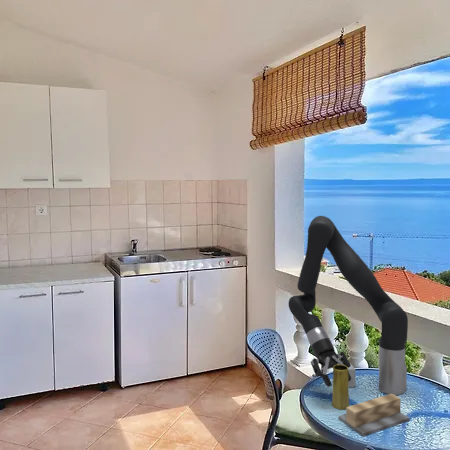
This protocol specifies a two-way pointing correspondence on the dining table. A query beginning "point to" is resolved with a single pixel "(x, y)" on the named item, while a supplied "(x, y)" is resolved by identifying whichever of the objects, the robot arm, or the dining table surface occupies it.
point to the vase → (340, 387)
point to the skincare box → (352, 374)
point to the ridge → (374, 415)
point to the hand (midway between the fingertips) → (339, 383)
